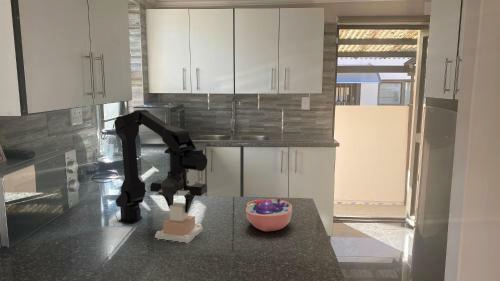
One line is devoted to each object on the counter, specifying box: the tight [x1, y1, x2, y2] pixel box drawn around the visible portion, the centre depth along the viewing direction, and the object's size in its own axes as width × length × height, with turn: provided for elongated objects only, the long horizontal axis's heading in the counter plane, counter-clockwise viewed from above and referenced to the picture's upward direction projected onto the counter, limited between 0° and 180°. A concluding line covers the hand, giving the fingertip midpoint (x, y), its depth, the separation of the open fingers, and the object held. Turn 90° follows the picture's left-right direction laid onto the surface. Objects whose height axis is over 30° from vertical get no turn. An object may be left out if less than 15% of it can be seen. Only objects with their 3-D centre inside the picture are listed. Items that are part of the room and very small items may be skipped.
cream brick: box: [169, 202, 189, 221], centre depth 127 cm, size 4×4×5 cm
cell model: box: [245, 198, 293, 232], centre depth 134 cm, size 17×20×11 cm
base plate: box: [154, 215, 204, 244], centre depth 127 cm, size 12×12×6 cm
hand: (179, 212), depth 127 cm, fingers open, 5 cm apart
